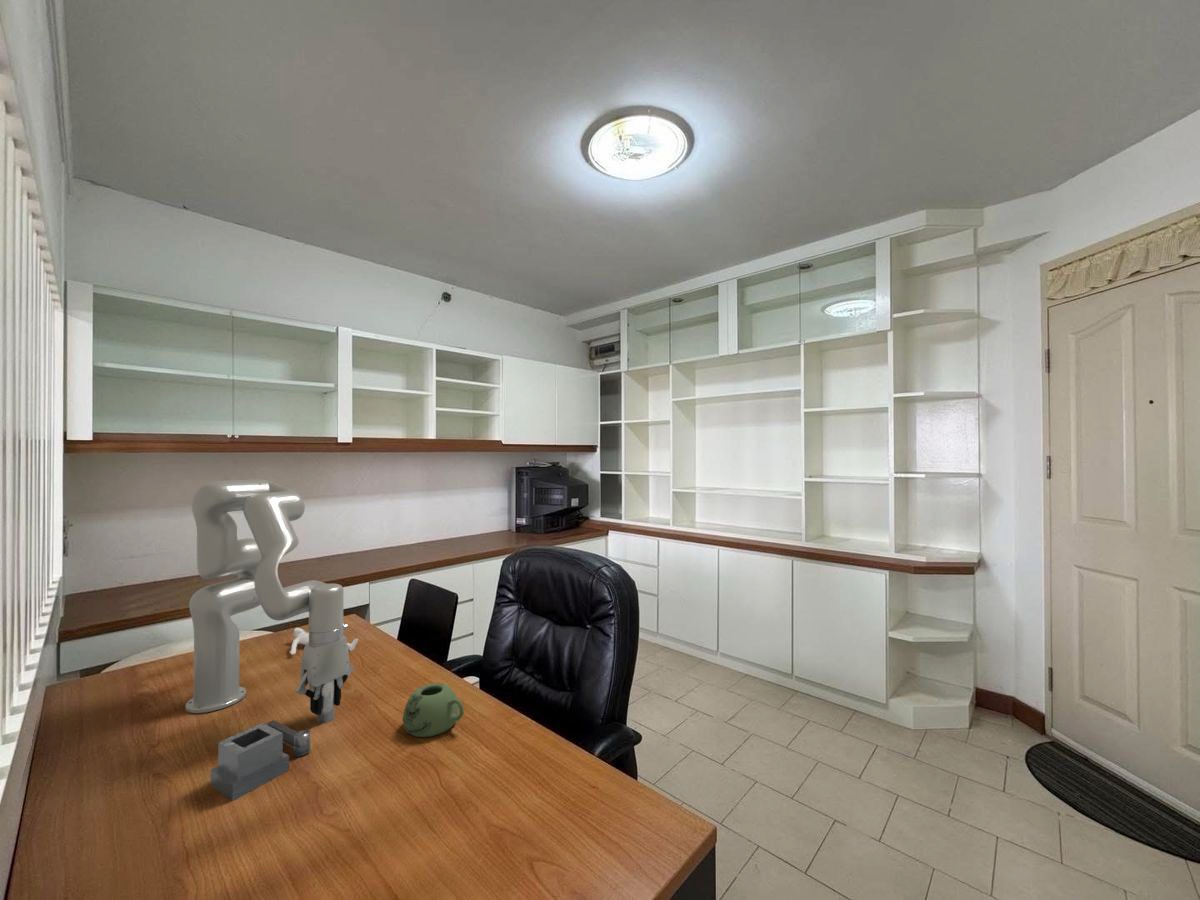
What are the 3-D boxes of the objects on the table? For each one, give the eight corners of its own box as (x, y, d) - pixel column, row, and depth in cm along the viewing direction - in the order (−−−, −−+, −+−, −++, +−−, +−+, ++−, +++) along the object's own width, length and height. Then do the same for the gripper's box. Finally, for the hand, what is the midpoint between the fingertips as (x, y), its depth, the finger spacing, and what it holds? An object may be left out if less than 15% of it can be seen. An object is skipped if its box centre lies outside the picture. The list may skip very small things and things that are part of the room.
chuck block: (210, 785, 93) (211, 744, 93) (266, 757, 102) (266, 720, 102) (232, 800, 89) (233, 758, 89) (288, 770, 97) (289, 731, 97)
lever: (260, 737, 109) (260, 719, 109) (274, 730, 111) (274, 713, 111) (298, 758, 101) (298, 739, 101) (312, 750, 103) (313, 732, 104)
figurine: (313, 671, 148) (266, 647, 158) (365, 650, 164) (319, 629, 175) (315, 654, 148) (268, 632, 158) (366, 635, 164) (321, 615, 175)
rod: (314, 721, 116) (314, 676, 116) (328, 714, 119) (329, 670, 119) (322, 724, 114) (323, 679, 114) (337, 717, 117) (337, 673, 117)
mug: (390, 734, 110) (390, 697, 110) (429, 707, 122) (429, 674, 122) (444, 749, 104) (444, 710, 104) (480, 719, 116) (480, 684, 116)
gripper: (349, 622, 126) (348, 690, 126) (282, 643, 111) (281, 721, 111) (366, 627, 122) (366, 697, 122) (299, 649, 108) (299, 729, 107)
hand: (325, 708), depth 117 cm, fingers open, 4 cm apart
